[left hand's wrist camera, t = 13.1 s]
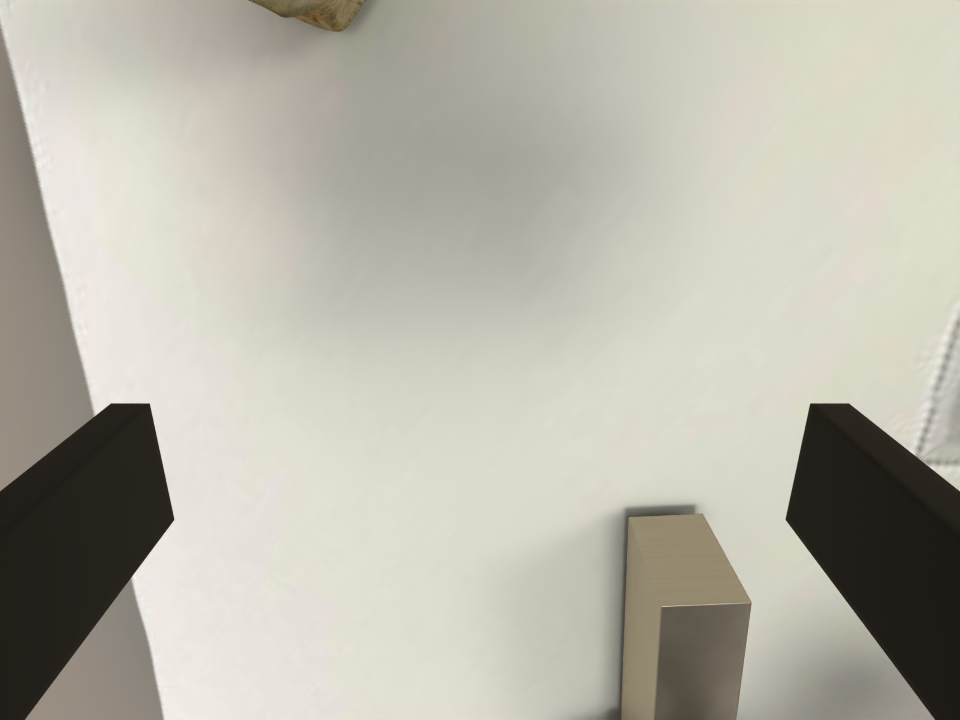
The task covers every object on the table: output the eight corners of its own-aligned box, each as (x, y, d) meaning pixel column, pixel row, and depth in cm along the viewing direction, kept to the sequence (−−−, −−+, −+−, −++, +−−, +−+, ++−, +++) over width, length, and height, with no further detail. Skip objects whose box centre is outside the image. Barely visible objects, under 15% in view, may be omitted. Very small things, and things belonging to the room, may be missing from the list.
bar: (628, 516, 44) (661, 606, 36) (703, 513, 44) (751, 602, 36) (619, 765, 53) (643, 879, 45) (680, 762, 53) (715, 877, 45)
